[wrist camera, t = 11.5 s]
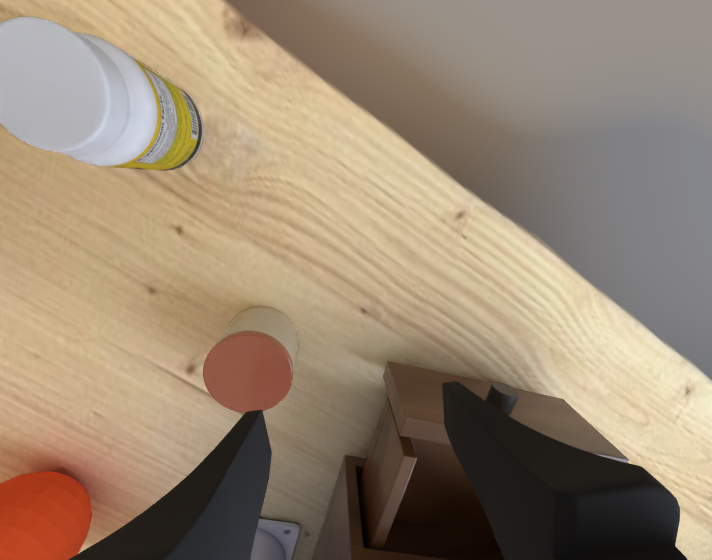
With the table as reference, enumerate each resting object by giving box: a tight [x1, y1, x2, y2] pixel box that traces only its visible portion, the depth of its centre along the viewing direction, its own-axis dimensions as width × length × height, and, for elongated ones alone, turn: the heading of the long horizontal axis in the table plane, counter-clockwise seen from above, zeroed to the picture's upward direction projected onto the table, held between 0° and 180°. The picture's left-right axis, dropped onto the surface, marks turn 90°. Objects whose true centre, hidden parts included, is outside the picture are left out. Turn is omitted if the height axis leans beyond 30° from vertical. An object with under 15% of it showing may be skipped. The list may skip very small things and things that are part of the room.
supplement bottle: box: [0, 17, 203, 170], centre depth 15 cm, size 5×5×8 cm
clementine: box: [0, 471, 92, 560], centre depth 21 cm, size 8×7×7 cm
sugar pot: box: [203, 307, 299, 413], centre depth 21 cm, size 5×5×4 cm
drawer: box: [358, 361, 629, 560], centre depth 23 cm, size 14×13×6 cm
